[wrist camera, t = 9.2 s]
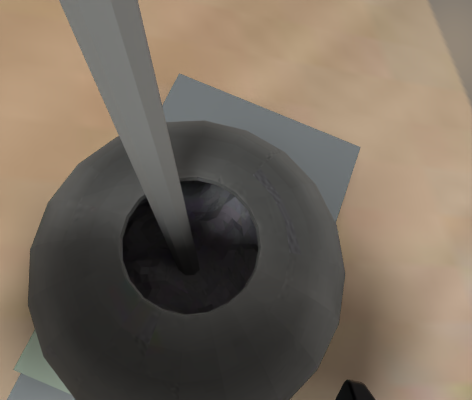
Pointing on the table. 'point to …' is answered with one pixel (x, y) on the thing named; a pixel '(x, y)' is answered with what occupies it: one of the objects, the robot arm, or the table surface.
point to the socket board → (238, 116)
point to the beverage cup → (179, 248)
